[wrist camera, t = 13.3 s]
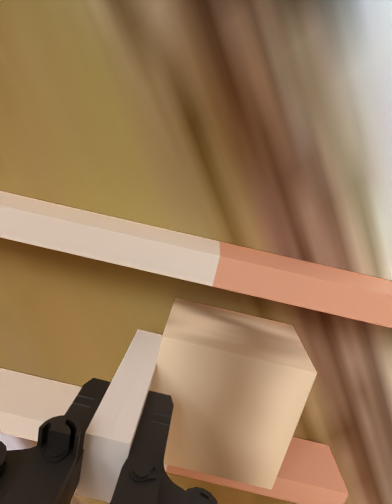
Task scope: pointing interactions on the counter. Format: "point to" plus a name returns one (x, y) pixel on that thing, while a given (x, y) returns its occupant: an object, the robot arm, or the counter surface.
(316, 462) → the channel
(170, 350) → the maple block
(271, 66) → the counter surface
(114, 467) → the robot arm
